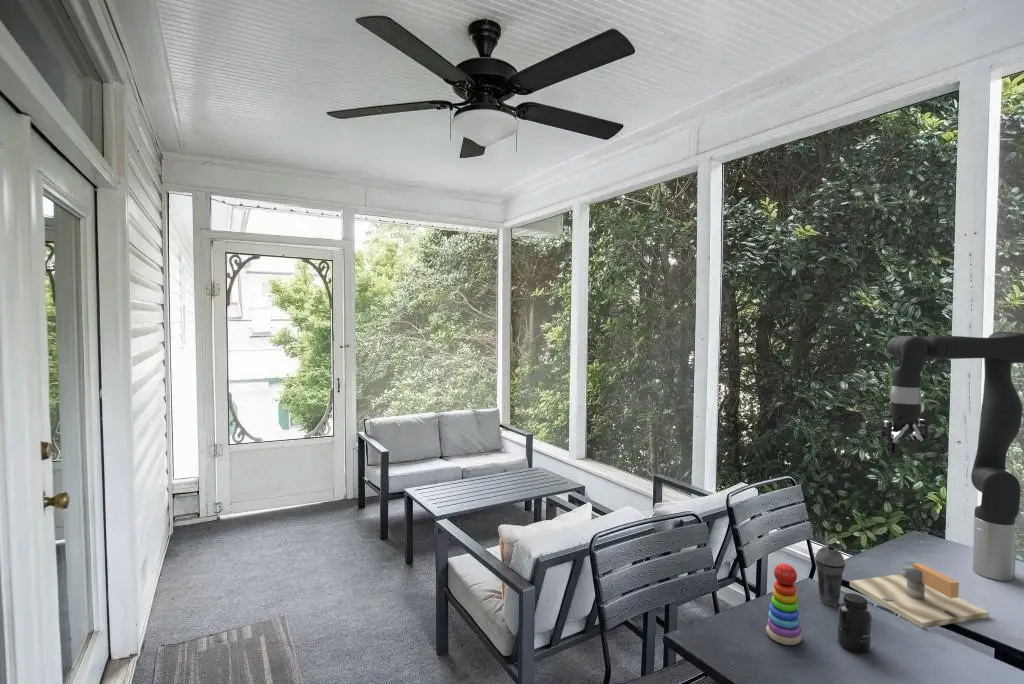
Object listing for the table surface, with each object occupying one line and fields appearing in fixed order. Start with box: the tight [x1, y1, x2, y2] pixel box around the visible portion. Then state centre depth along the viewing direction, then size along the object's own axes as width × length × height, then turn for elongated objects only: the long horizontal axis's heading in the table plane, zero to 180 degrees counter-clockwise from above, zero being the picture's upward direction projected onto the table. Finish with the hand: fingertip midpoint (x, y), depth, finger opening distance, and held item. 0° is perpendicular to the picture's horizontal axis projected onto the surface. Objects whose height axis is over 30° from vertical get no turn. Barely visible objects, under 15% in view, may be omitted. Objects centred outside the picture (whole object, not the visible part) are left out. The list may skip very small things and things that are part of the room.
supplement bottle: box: [837, 592, 873, 655], centre depth 127 cm, size 7×7×12 cm
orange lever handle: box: [901, 561, 960, 598], centre depth 143 cm, size 14×8×4 cm, turn 9°
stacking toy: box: [765, 562, 803, 646], centre depth 131 cm, size 8×8×19 cm
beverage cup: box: [814, 531, 846, 607], centre depth 147 cm, size 7×7×20 cm
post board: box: [849, 573, 990, 629], centre depth 147 cm, size 22×22×6 cm
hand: (904, 453), depth 161 cm, fingers open, 8 cm apart
